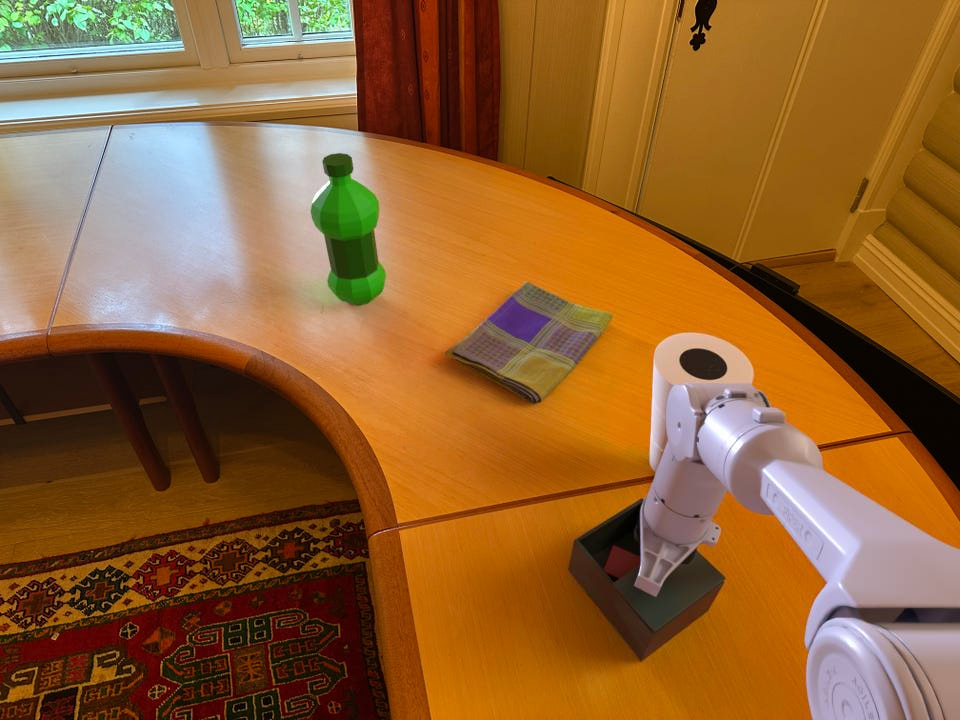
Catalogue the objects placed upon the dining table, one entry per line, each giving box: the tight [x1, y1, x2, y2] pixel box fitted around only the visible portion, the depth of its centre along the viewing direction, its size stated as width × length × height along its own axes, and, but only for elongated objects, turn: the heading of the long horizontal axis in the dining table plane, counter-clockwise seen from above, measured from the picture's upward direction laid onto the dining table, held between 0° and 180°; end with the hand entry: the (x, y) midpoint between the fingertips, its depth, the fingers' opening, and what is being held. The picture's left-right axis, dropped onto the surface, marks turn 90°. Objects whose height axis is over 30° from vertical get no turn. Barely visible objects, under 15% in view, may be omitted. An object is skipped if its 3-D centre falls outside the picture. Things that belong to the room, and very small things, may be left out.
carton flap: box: [613, 549, 727, 632], centre depth 60 cm, size 6×10×1 cm, turn 122°
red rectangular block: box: [603, 545, 641, 582], centre depth 65 cm, size 8×4×3 cm, turn 62°
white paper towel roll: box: [648, 332, 755, 474], centre depth 73 cm, size 11×11×18 cm
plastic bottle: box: [310, 152, 387, 307], centre depth 97 cm, size 10×10×25 cm
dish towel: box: [444, 281, 613, 404], centre depth 96 cm, size 18×24×3 cm
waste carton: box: [567, 497, 725, 662], centre depth 64 cm, size 12×10×6 cm
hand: (654, 563), depth 62 cm, fingers closed, pressing on carton flap
